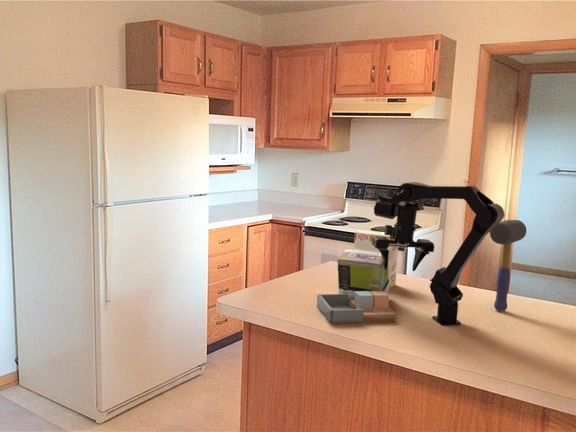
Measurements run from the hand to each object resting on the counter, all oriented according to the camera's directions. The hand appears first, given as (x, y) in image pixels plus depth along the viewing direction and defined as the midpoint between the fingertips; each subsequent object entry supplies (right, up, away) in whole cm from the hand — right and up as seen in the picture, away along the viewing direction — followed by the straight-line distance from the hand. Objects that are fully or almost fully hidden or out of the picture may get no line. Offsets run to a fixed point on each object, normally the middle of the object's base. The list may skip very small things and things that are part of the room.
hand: (399, 270), depth 170 cm
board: (-10, -13, -3) cm, 17 cm away
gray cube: (-12, -11, -4) cm, 17 cm away
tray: (-20, -13, -5) cm, 24 cm away
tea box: (-10, -10, +13) cm, 19 cm away
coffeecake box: (-3, -8, +31) cm, 32 cm away
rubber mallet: (+34, -14, +4) cm, 37 cm away
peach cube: (-7, -11, -3) cm, 13 cm away
